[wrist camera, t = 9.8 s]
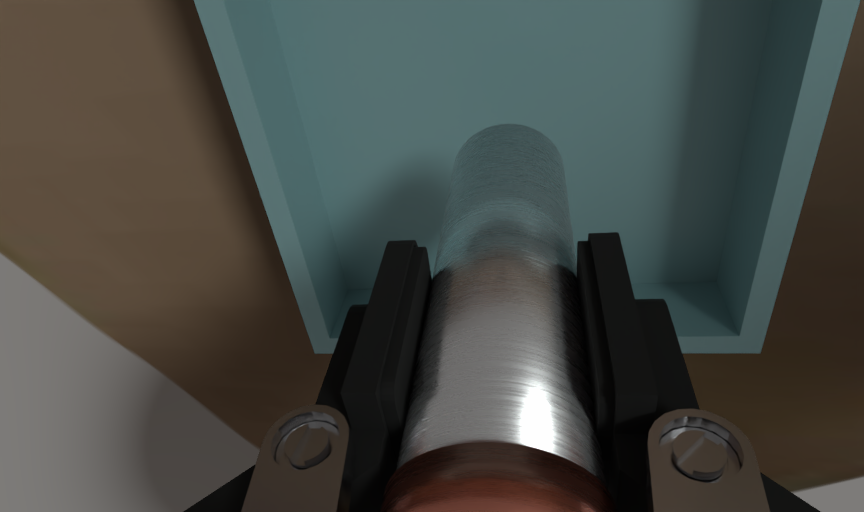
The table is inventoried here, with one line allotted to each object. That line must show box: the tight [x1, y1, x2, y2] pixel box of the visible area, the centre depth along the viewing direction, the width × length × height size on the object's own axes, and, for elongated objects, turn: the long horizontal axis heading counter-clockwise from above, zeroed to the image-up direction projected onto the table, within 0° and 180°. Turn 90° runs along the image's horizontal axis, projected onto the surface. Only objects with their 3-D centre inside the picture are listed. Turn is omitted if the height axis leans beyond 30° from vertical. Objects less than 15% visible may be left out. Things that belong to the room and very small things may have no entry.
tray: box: [194, 0, 860, 354], centre depth 18 cm, size 16×16×4 cm
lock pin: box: [380, 124, 617, 512], centre depth 12 cm, size 3×3×11 cm
